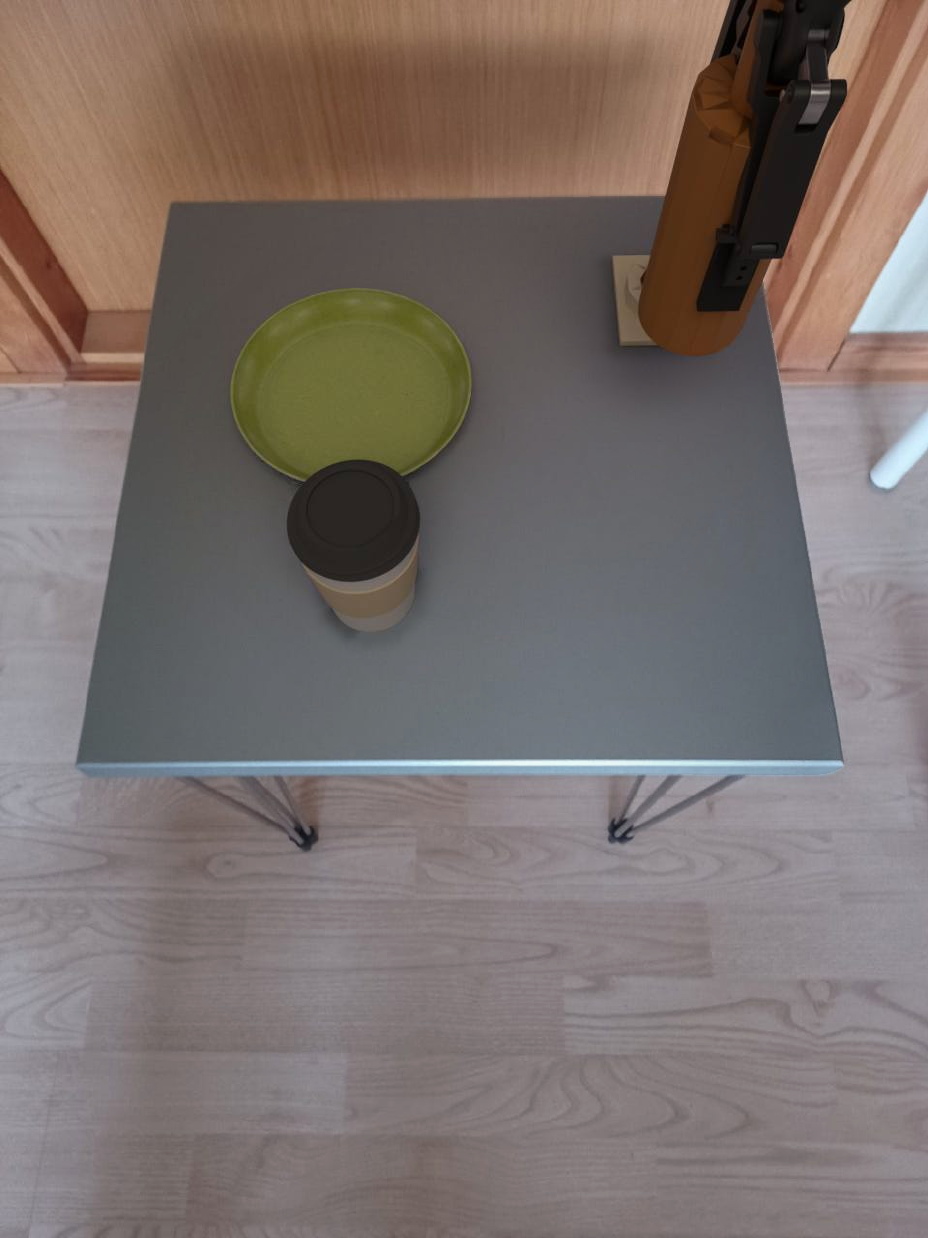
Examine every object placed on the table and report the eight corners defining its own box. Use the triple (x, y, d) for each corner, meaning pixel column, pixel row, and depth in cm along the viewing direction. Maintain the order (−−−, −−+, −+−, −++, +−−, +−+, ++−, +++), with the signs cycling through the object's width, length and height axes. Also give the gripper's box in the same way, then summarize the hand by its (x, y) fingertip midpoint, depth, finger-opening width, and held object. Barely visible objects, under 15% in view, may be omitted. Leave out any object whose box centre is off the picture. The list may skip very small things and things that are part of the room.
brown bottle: (763, 310, 63) (913, -22, 42) (700, 374, 61) (824, 61, 40) (680, 256, 65) (782, -88, 44) (616, 316, 63) (690, -13, 42)
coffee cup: (294, 589, 71) (251, 499, 57) (379, 522, 73) (357, 419, 59) (366, 667, 68) (338, 593, 54) (451, 596, 70) (446, 506, 56)
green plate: (464, 512, 73) (463, 493, 70) (221, 500, 74) (211, 480, 71) (477, 315, 81) (478, 290, 78) (257, 305, 81) (249, 280, 78)
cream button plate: (707, 344, 79) (714, 326, 77) (619, 346, 79) (623, 327, 77) (695, 259, 83) (701, 239, 81) (611, 260, 83) (615, 240, 81)
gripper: (729, -283, 40) (641, 144, 62) (795, 17, 33) (668, 385, 54) (891, -286, 40) (746, 142, 62) (993, 14, 33) (788, 383, 54)
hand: (710, 256), depth 58 cm, fingers closed on brown bottle, 8 cm apart
